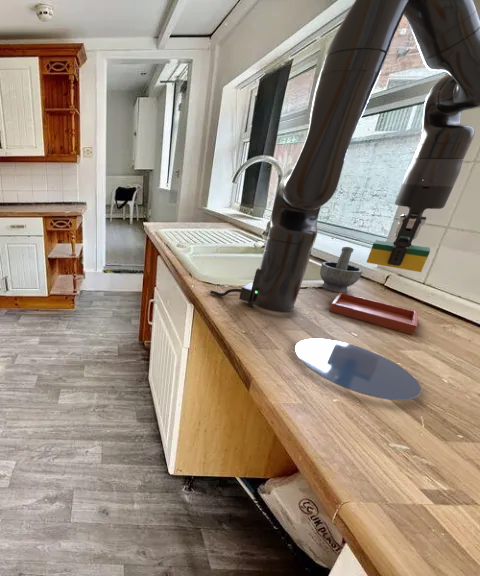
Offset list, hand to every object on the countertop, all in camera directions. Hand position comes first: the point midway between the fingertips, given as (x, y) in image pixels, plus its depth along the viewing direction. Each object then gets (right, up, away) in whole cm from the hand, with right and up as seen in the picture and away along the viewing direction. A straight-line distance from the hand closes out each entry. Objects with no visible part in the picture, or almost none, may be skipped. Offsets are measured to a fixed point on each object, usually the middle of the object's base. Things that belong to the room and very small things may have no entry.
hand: (394, 261), depth 69 cm
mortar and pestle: (+4, -6, +23) cm, 24 cm away
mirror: (-23, -20, -16) cm, 35 cm away
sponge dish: (0, -12, +6) cm, 14 cm away
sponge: (0, -1, 0) cm, 1 cm away
